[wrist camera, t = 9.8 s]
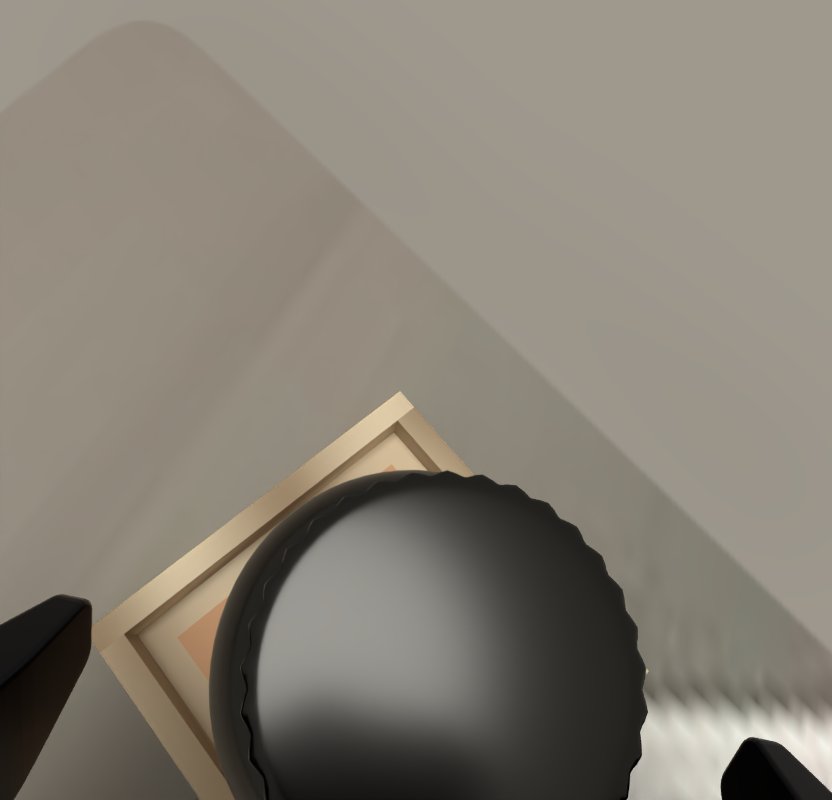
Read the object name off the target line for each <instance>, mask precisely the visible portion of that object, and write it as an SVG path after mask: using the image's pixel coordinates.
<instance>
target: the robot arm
mask: <svg viewBox="0 0 832 800" xmlns="http://www.w3.org/2000/svg"><path fill="white" fill-rule="evenodd" d="M91 638H92V605H91V603H90V601H88V600H87V599H83V598H78V597H73V596H69V595H64V594H61V595H56V596H53V597H51V598H49V599H47V600H45V601H44V602H42V603H40V604H38V605H36V606H34V607H32V608H31V609H29V610H27V611H25V612H23V613H21V614H19V615H18V616H16V617H14V618H12V619H10V620H8V621H6V622H5V623H3V624H1V625H0V800H14V798H15V797H16V795H17V793H18V792H19V790H20V789H21V787H22V785H23V784H24V782H25V780H26V778H27V776H28V775H29V773H30V771H31V769H32V767H33V765H34V764H35V762H36V760H37V758H38V756H39V754H40V752H41V750H42V748H43V746H44V744H45V742H46V740H47V739H48V737H49V735H50V733H51V731H52V729H53V727H54V725H55V723H56V721H57V719H58V717H59V715H60V713H61V711H62V710H63V708H64V706H65V704H66V702H67V700H68V698H69V696H70V694H71V692H72V690H73V688H74V686H75V684H76V682H77V681H78V679H79V677H80V675H81V673H82V671H83V669H84V667H85V665H86V663H87V660H88V658H89V654H90V650H91ZM721 796H722V800H832V792H830V791H829V790H828V789H827V788H826V787H825V786H824V785H823V784H822V783H821V782H820V781H819V780H818V779H817V778H816V777H815V776H814V775H813V774H812V773H811V772H810V771H809V770H808V769H807V768H806V767H805V766H804V765H802V764H801V763H800V762H799V761H798V760H797V759H796V758H795V757H794V756H793V755H792V754H791V753H790V752H789V751H788V750H787V749H786V748H785V747H784V746H782V745H781V744H779V743H777V742H774V741H769V740H764V739H759V738H754V737H749V738H748V739H746V740H744V741H743V743H742V744H741V746H740V747H739V749H738V750H737V752H736V754H735V755H734V757H733V758H732V760H731V762H730V763H729V765H728V767H727V768H726V770H725V771H724V773H723V775H722V779H721Z"/></svg>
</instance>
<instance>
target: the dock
mask: <svg viewBox="0 0 832 800" xmlns="http://www.w3.org/2000/svg"><path fill="white" fill-rule="evenodd" d="M396 470H424V471H435V472H443V471H446V470H448V471H451V472H454V473H457V474H459V475H461V476H463V477H470V476H473V475H474V474H473V473H472V472H471V471H470V470H469V468H468V467H467V466H466V465H465V464H464V463H463V462H462V461H461V459H460V458H459V457H458V456H457V455H456V454H455V453H454V452H453V451H452V449H451V448H450V447H449V446H448V445H447V444H446V443H445V442H444V440H443V439H442V438H441V437H440V436H439V435H438V434H437V433H436V431H435V430H434V429H433V428H432V427H431V426H430V425H429V424H428V422H427V421H426V420H425V419H424V418H423V417H422V416H421V415H420V413H419V412H418V411H417V410H416V409H415V408H414V407H413V406H412V405H411V403H410V402H409V401H408V400H407V399H406V398H405V397H404V396H403V394H402V393H401V392H398V393H397V394H396V395H394V396H393V397H392V398H391V399H389V400H388V401H387V402H385V403H384V404H383V405H381V406H380V407H379V408H377V409H376V410H375V411H373V412H372V413H371V414H370V415H368V416H367V417H366V418H364V419H363V420H362V421H360V422H359V423H358V424H356V425H355V426H354V427H352V428H351V429H350V430H349V431H347V432H346V433H345V434H343V435H342V436H341V437H339V438H338V439H337V440H335V441H334V442H333V443H332V444H330V445H329V446H328V447H326V448H325V449H324V450H322V451H321V452H320V453H318V454H317V455H316V456H314V457H313V458H312V459H311V460H309V461H308V462H307V463H305V464H304V465H303V466H301V467H300V468H299V469H297V470H296V471H295V472H293V473H292V474H291V475H290V476H288V477H287V478H286V479H284V480H283V481H282V482H280V483H279V484H278V485H276V486H275V487H274V488H273V489H271V490H270V491H269V492H267V493H266V494H265V495H263V496H262V497H261V498H259V499H258V500H257V501H255V502H254V503H253V504H252V505H250V506H249V507H248V508H246V509H245V510H244V511H242V512H241V513H240V514H238V515H237V516H236V517H234V518H233V519H232V520H231V521H229V522H228V523H227V524H225V525H224V526H223V527H221V528H220V529H219V530H217V531H216V532H215V533H214V534H212V535H211V536H210V537H208V538H207V539H206V540H204V541H203V542H202V543H200V544H199V545H198V546H196V547H195V548H194V549H193V550H191V551H190V552H189V553H187V554H186V555H185V556H183V557H182V558H181V559H179V560H178V561H177V562H175V563H174V564H173V565H172V566H170V567H169V568H168V569H166V570H165V571H164V572H162V573H161V574H160V575H158V576H157V577H156V578H154V579H153V580H152V581H151V582H149V583H148V584H147V585H145V586H144V587H143V588H141V589H140V590H139V591H137V592H136V593H135V594H134V595H132V596H131V597H130V598H128V599H127V600H126V601H124V602H123V603H122V604H120V605H119V606H118V607H116V608H115V609H114V610H113V611H111V612H110V613H109V614H107V615H106V616H105V617H103V618H102V619H101V620H99V621H98V622H97V623H95V624H94V625H93V626H92V638H91V641H92V642H93V644H94V645H95V647H96V648H97V649H98V651H99V652H100V654H101V655H102V657H103V658H104V660H105V661H106V663H107V664H108V666H109V667H110V668H111V670H112V671H113V673H114V674H115V676H116V677H117V679H118V680H119V682H120V683H121V685H122V686H123V687H124V689H125V690H126V692H127V693H128V695H129V696H130V698H131V699H132V701H133V702H134V704H135V705H136V706H137V708H138V709H139V711H140V712H141V714H142V715H143V717H144V718H145V720H146V721H147V723H148V724H149V726H150V727H151V728H152V730H153V731H154V733H155V734H156V736H157V737H158V739H159V740H160V742H161V743H162V745H163V746H164V747H165V749H166V750H167V752H168V753H169V755H170V756H171V758H172V759H173V761H174V762H175V764H176V765H177V766H178V768H179V769H180V771H181V772H182V774H183V775H184V777H185V778H186V780H187V781H188V783H189V784H190V786H191V787H192V788H193V790H194V791H195V793H196V794H197V796H198V797H199V799H200V800H235V799H234V797H233V795H232V793H231V791H230V788H229V786H228V784H227V781H226V779H225V777H224V774H223V771H222V768H221V765H220V762H219V759H218V756H217V752H216V748H215V743H214V738H213V734H212V728H211V719H210V710H209V675H210V662H211V656H212V650H213V644H214V639H215V635H216V631H217V627H218V624H219V620H220V617H221V614H222V612H223V609H224V606H225V603H226V600H227V598H228V596H229V594H230V592H231V590H232V588H233V585H234V583H235V581H236V579H237V578H238V576H239V574H240V573H241V571H242V569H243V567H244V566H245V564H246V562H247V561H248V560H249V558H250V557H251V555H252V554H253V553H254V551H255V550H256V548H257V547H258V546H259V545H260V544H261V542H262V541H263V540H264V539H265V538H266V537H267V535H268V534H269V533H270V532H271V531H272V530H273V529H274V528H275V527H276V526H277V525H278V524H279V523H280V522H281V521H282V520H283V519H284V518H286V517H287V516H288V515H289V514H291V513H292V512H293V511H294V510H296V509H297V508H298V507H299V506H301V505H302V504H304V503H305V502H307V501H309V500H310V499H312V498H313V497H315V496H317V495H318V494H320V493H322V492H324V491H326V490H328V489H330V488H332V487H334V486H337V485H339V484H341V483H344V482H346V481H349V480H352V479H355V478H359V477H362V476H365V475H370V474H375V473H380V472H387V471H396ZM648 671H649V670H648V669H647V668H646V673H647V672H648ZM645 675H646V674H645Z"/></svg>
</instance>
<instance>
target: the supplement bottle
mask: <svg viewBox="0 0 832 800" xmlns="http://www.w3.org/2000/svg"><path fill="white" fill-rule="evenodd" d="M637 640H638V628H637V626H636V624H635V623H634V621H633V620H632V618H631V617H630V615H629V614H628V613H627V611H626V608H625V600H624V595H623V590H622V589H621V588H620V586H619V585H618V584H617V583H616V582H615V581H614V580H613V579H612V578H611V577H610V576H609V575H608V573H607V570H606V565H605V563H604V560H603V557H602V556H601V555H600V554H599V553H598V552H596V551H595V550H594V549H592V548H591V547H589V546H588V545H586V543H585V542H584V540H583V537H582V535H581V533H580V531H579V529H578V528H577V527H576V526H574V525H573V524H571V523H569V522H567V521H564V520H562V519H560V518H559V517H558V516H557V514H556V512H555V510H554V509H553V508H552V507H551V506H550V504H549V503H547V502H544V501H541V500H536V499H531V498H530V497H529V496H528V495H527V494H526V493H525V492H524V491H523V490H521V489H520V488H519V487H518V486H516V485H498V484H497V483H495V482H494V481H492V480H491V479H489V478H488V477H486V476H484V475H473V476H470V477H463V476H461V475H459V474H457V473H454V472H451V471H448V470H446V471H443V472H435V471H424V470H396V471H387V472H380V473H375V474H370V475H365V476H362V477H359V478H355V479H352V480H349V481H346V482H344V483H341V484H339V485H337V486H334V487H332V488H330V489H328V490H326V491H324V492H322V493H320V494H318V495H317V496H315V497H313V498H312V499H310V500H309V501H307V502H305V503H304V504H302V505H301V506H299V507H298V508H297V509H296V510H294V511H293V512H292V513H291V514H289V515H288V516H287V517H286V518H284V519H283V520H282V521H281V522H280V523H279V524H278V525H277V526H276V527H275V528H274V529H273V530H272V531H271V532H270V533H269V534H268V535H267V537H266V538H265V539H264V540H263V541H262V542H261V544H260V545H259V546H258V547H257V548H256V550H255V551H254V553H253V554H252V555H251V557H250V558H249V560H248V561H247V562H246V564H245V566H244V567H243V569H242V571H241V573H240V574H239V576H238V578H237V579H236V581H235V583H234V585H233V588H232V590H231V592H230V594H229V596H228V598H227V600H226V603H225V606H224V609H223V612H222V614H221V617H220V620H219V624H218V627H217V631H216V635H215V639H214V644H213V650H212V656H211V662H210V675H209V710H210V719H211V728H212V734H213V738H214V743H215V748H216V752H217V756H218V759H219V762H220V765H221V768H222V771H223V774H224V777H225V779H226V781H227V784H228V786H229V788H230V791H231V793H232V795H233V797H234V799H235V800H627V798H628V793H629V784H630V773H631V771H632V770H633V768H634V767H635V766H636V765H637V763H638V761H639V760H640V758H641V756H642V748H641V737H640V730H641V728H642V725H643V724H644V722H645V719H646V716H647V713H648V710H647V705H646V701H645V698H644V694H643V691H642V689H643V685H644V680H645V674H646V667H645V664H644V662H643V659H642V657H641V655H640V653H639V651H638V649H637Z"/></svg>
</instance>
